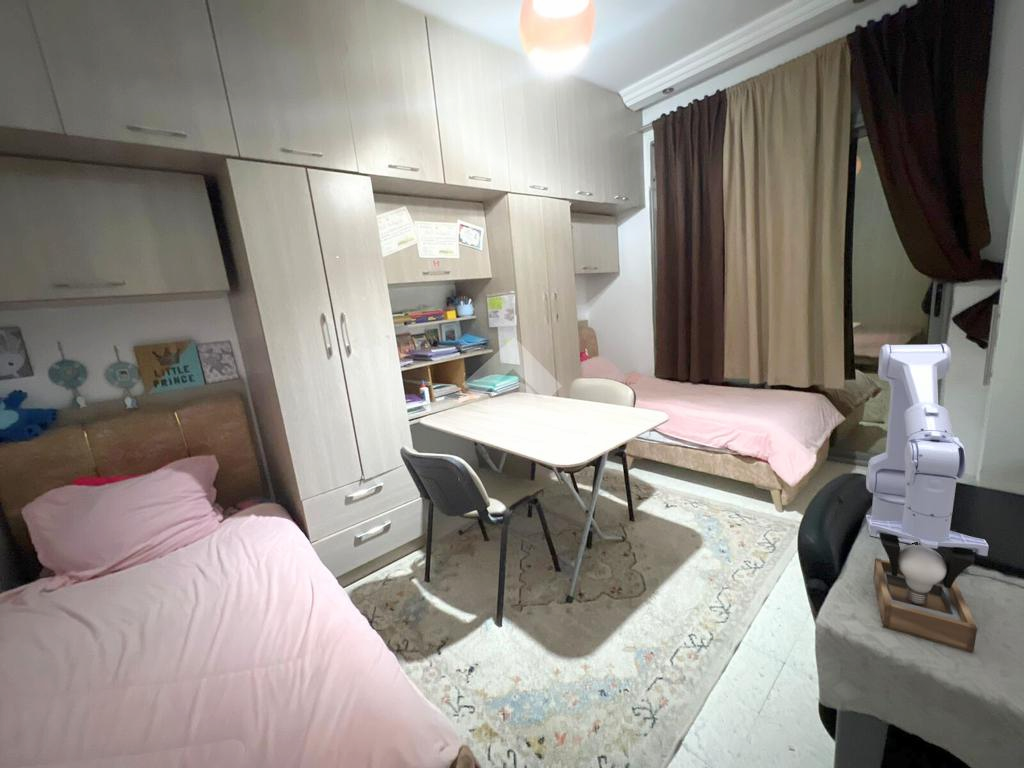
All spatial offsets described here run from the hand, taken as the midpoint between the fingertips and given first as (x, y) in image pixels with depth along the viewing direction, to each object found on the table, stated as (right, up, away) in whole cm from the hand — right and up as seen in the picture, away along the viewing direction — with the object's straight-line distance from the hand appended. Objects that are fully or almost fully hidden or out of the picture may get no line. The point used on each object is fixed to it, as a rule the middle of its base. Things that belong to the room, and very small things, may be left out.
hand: (919, 578), depth 73 cm
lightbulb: (+1, -5, +1) cm, 5 cm away
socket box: (0, -6, 0) cm, 6 cm away
